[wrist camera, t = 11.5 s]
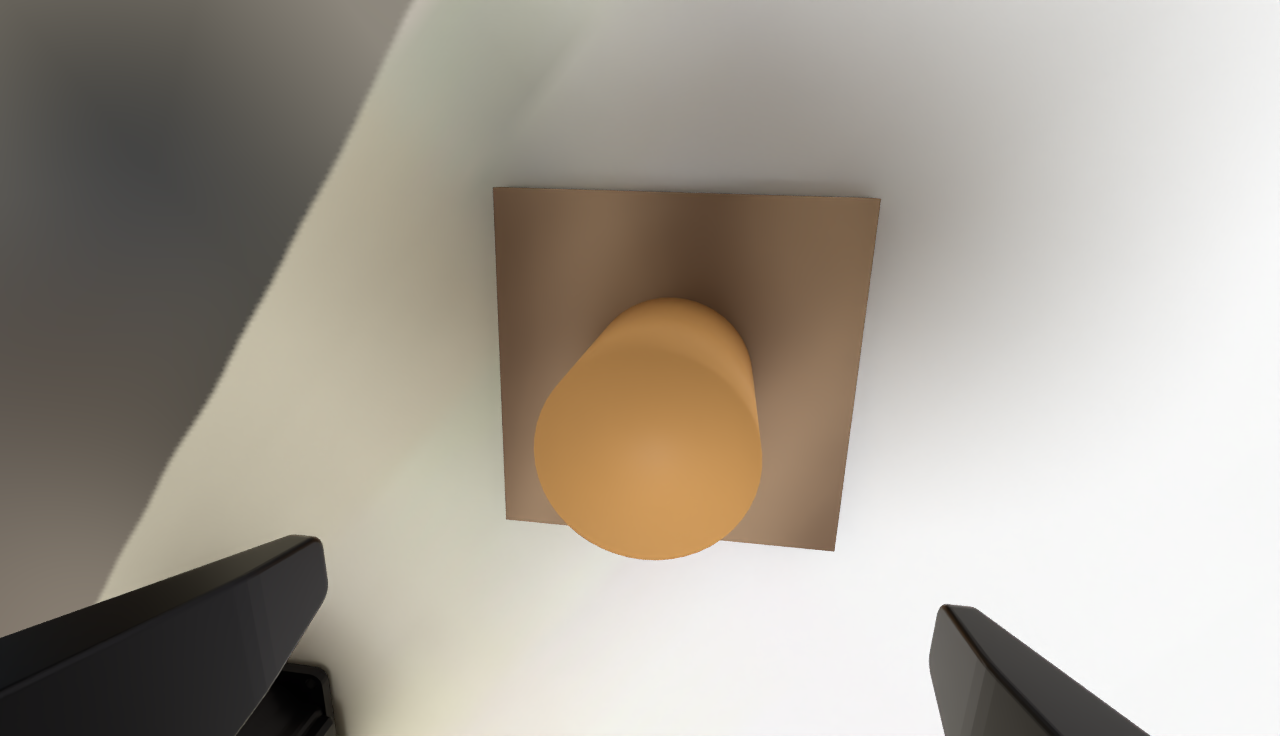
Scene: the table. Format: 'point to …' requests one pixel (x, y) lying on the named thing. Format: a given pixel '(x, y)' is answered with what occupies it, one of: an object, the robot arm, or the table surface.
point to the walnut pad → (713, 276)
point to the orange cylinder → (654, 433)
